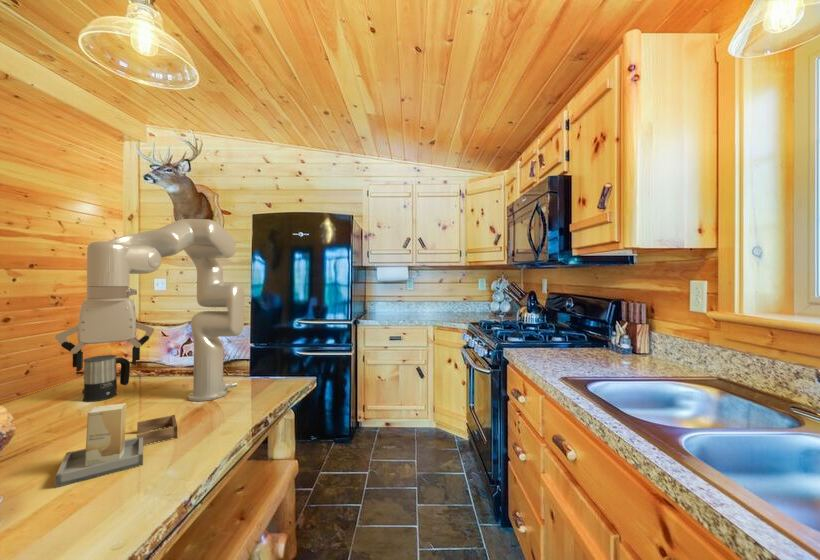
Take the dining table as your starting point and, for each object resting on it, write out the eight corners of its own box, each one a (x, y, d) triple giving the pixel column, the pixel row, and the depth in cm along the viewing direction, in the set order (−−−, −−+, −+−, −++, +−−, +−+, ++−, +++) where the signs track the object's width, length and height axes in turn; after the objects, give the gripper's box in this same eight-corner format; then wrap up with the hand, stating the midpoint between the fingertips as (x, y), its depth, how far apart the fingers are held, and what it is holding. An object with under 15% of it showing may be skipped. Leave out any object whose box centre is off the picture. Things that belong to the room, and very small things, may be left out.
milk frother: (99, 402, 118) (100, 360, 118) (56, 402, 118) (57, 359, 118) (134, 389, 132) (134, 352, 132) (95, 389, 132) (96, 351, 133)
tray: (142, 445, 87) (143, 436, 87) (142, 465, 77) (142, 454, 77) (66, 463, 78) (66, 452, 78) (55, 487, 69) (55, 476, 69)
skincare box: (84, 468, 75) (85, 413, 75) (90, 459, 78) (91, 406, 79) (121, 460, 78) (122, 407, 78) (126, 452, 82) (126, 402, 82)
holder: (174, 424, 99) (174, 414, 99) (177, 437, 91) (177, 426, 91) (137, 432, 94) (137, 422, 94) (136, 447, 86) (136, 435, 86)
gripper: (154, 293, 88) (153, 358, 87) (59, 294, 77) (58, 369, 77) (155, 294, 82) (154, 364, 82) (52, 295, 71) (51, 376, 71)
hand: (107, 366), depth 79 cm, fingers open, 9 cm apart
